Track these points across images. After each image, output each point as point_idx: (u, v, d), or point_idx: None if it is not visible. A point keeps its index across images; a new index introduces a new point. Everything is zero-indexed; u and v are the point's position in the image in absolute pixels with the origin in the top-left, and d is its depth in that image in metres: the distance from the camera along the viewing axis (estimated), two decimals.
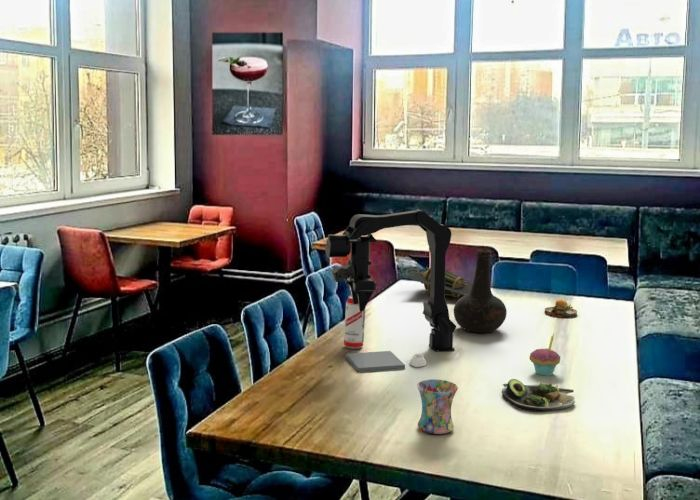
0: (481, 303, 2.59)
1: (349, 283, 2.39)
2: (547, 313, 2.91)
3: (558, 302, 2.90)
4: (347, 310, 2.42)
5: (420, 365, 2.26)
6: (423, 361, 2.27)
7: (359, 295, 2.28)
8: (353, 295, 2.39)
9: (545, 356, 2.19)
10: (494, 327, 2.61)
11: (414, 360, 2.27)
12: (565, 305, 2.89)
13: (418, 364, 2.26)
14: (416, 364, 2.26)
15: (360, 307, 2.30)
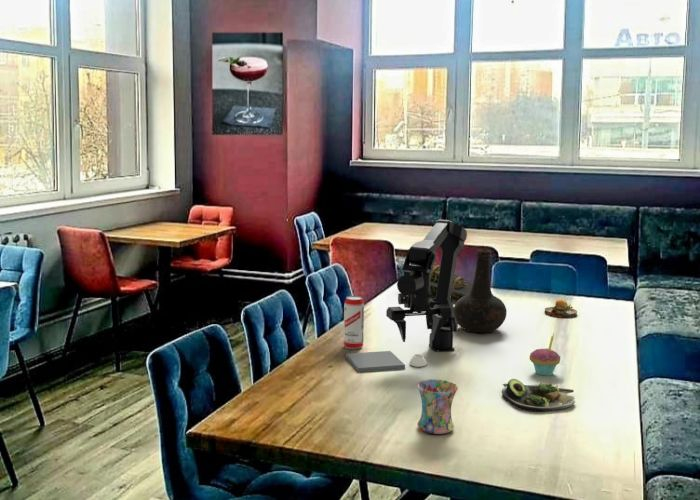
0: (481, 303, 2.59)
1: (433, 317, 2.30)
2: (547, 313, 2.91)
3: (558, 302, 2.90)
4: (345, 311, 2.42)
5: (420, 365, 2.26)
6: (423, 361, 2.27)
7: (397, 323, 2.26)
8: (432, 330, 2.29)
9: (545, 356, 2.19)
10: (494, 327, 2.61)
11: (414, 360, 2.27)
12: (565, 305, 2.89)
13: (418, 364, 2.26)
14: (416, 364, 2.26)
15: None
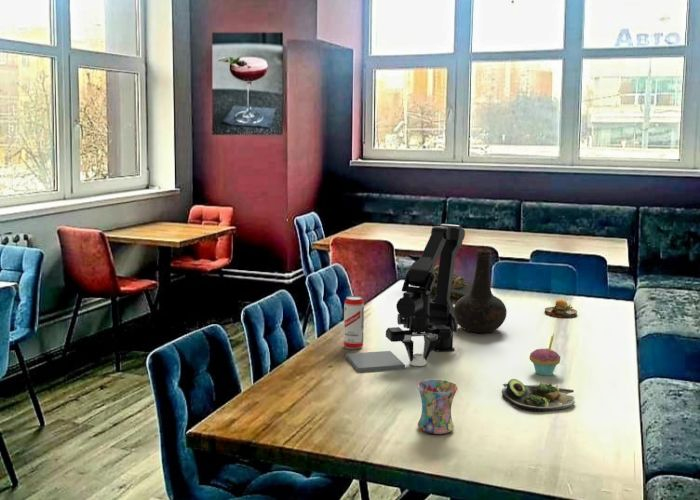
0: (481, 303, 2.59)
1: (424, 337, 2.30)
2: (547, 313, 2.91)
3: (558, 302, 2.90)
4: (345, 311, 2.42)
5: (420, 364, 2.26)
6: (423, 360, 2.27)
7: (404, 343, 2.28)
8: (424, 351, 2.29)
9: (545, 356, 2.19)
10: (494, 327, 2.61)
11: (414, 360, 2.27)
12: (565, 305, 2.89)
13: (418, 364, 2.26)
14: (416, 363, 2.26)
15: (409, 357, 2.28)
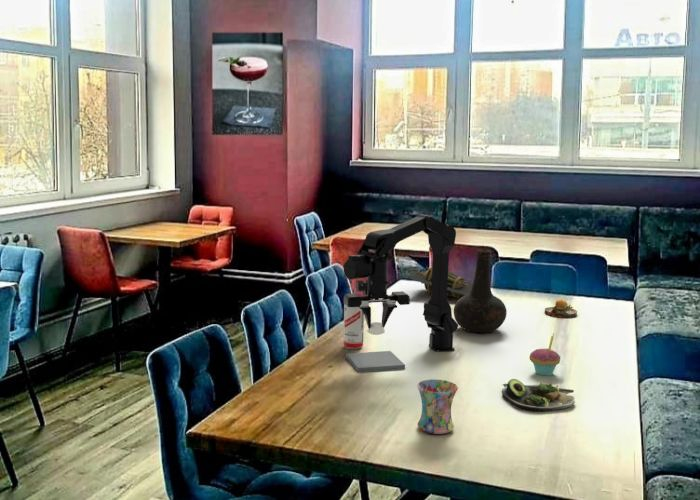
0: (481, 303, 2.59)
1: (382, 304, 2.29)
2: (547, 313, 2.91)
3: (558, 302, 2.90)
4: (345, 311, 2.42)
5: (378, 333, 2.25)
6: (381, 329, 2.26)
7: (362, 310, 2.27)
8: (382, 317, 2.29)
9: (545, 356, 2.19)
10: (494, 327, 2.61)
11: (372, 328, 2.26)
12: (565, 305, 2.89)
13: (376, 332, 2.25)
14: (374, 332, 2.25)
15: (367, 323, 2.27)
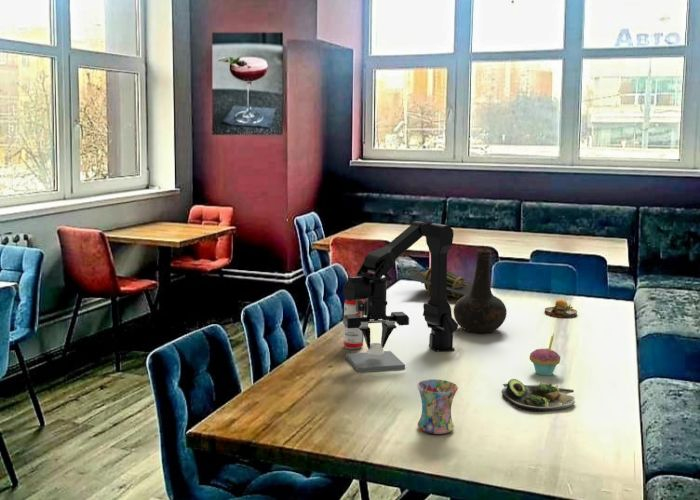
0: (481, 303, 2.59)
1: (382, 324, 2.30)
2: (547, 313, 2.91)
3: (558, 302, 2.90)
4: (345, 311, 2.42)
5: (378, 354, 2.27)
6: (381, 350, 2.27)
7: (362, 330, 2.28)
8: (381, 338, 2.30)
9: (545, 356, 2.19)
10: (494, 327, 2.61)
11: (371, 349, 2.27)
12: (565, 305, 2.89)
13: (375, 353, 2.27)
14: (374, 353, 2.27)
15: None
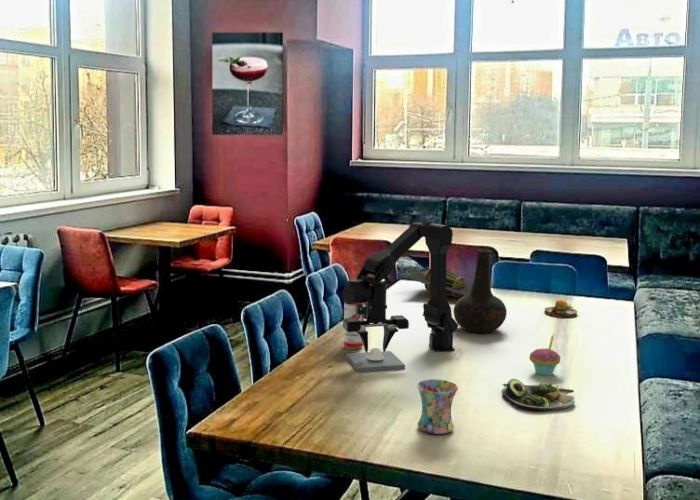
0: (481, 303, 2.59)
1: (384, 328, 2.31)
2: (547, 313, 2.91)
3: (558, 302, 2.90)
4: (345, 311, 2.42)
5: (377, 359, 2.27)
6: (380, 355, 2.28)
7: (359, 334, 2.28)
8: (383, 341, 2.30)
9: (545, 356, 2.19)
10: (494, 327, 2.61)
11: (371, 354, 2.27)
12: (565, 305, 2.89)
13: (375, 358, 2.27)
14: (373, 358, 2.27)
15: (364, 347, 2.28)
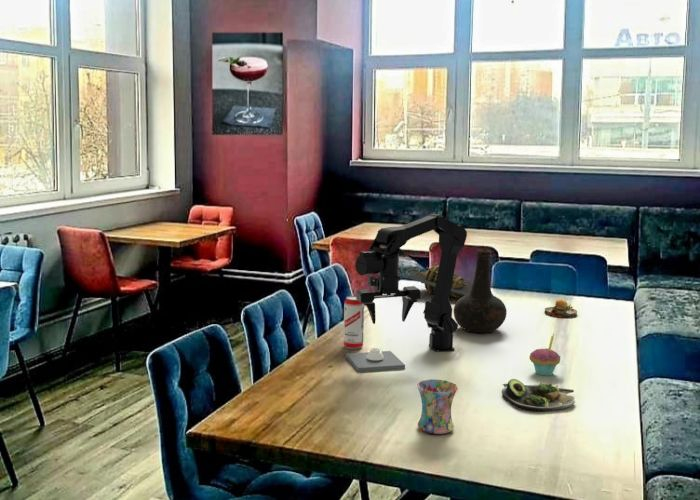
0: (481, 303, 2.59)
1: (402, 298, 2.33)
2: (547, 313, 2.91)
3: (558, 302, 2.90)
4: (345, 311, 2.42)
5: (377, 359, 2.27)
6: (380, 355, 2.28)
7: (367, 306, 2.30)
8: (402, 311, 2.33)
9: (545, 356, 2.19)
10: (494, 327, 2.61)
11: (371, 354, 2.27)
12: (565, 305, 2.89)
13: (375, 358, 2.27)
14: (373, 358, 2.27)
15: None
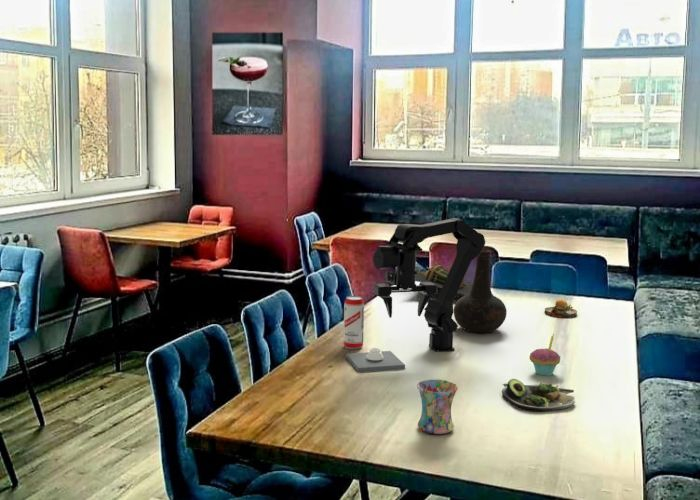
0: (481, 303, 2.59)
1: (418, 294, 2.38)
2: (547, 313, 2.91)
3: (558, 302, 2.90)
4: (345, 311, 2.42)
5: (377, 359, 2.27)
6: (380, 355, 2.28)
7: (383, 300, 2.35)
8: (418, 306, 2.38)
9: (545, 356, 2.19)
10: (494, 327, 2.61)
11: (371, 354, 2.27)
12: (565, 305, 2.89)
13: (375, 358, 2.27)
14: (373, 358, 2.27)
15: (388, 313, 2.35)
